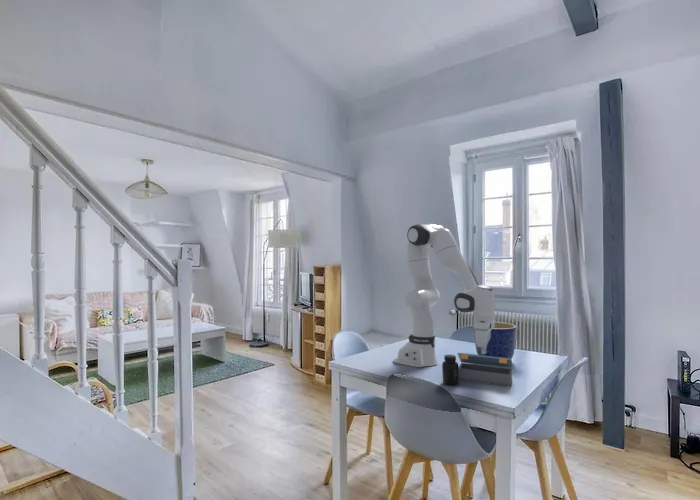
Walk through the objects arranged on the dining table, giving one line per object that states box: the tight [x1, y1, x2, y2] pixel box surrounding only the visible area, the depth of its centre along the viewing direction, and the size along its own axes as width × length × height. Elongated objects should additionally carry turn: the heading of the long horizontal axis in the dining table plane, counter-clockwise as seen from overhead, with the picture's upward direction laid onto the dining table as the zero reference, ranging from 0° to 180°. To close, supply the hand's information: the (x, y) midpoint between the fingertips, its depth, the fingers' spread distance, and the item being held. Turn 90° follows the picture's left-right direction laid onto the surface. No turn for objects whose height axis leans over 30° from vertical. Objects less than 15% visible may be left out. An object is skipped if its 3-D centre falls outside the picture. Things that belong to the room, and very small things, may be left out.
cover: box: [457, 352, 514, 369], centre depth 174 cm, size 22×11×3 cm
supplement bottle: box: [441, 354, 460, 387], centre depth 169 cm, size 7×7×12 cm
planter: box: [473, 321, 517, 360], centre depth 203 cm, size 21×21×19 cm
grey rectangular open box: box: [458, 362, 513, 388], centre depth 174 cm, size 22×10×5 cm, turn 64°
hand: (483, 353), depth 173 cm, fingers closed
